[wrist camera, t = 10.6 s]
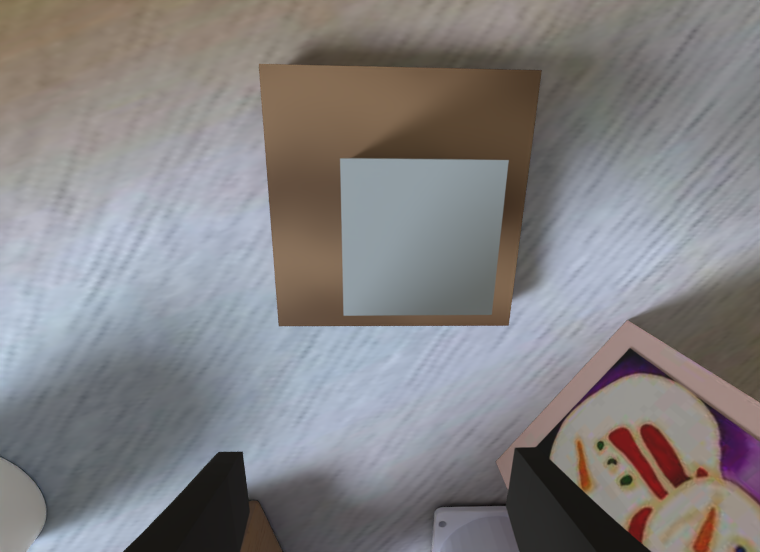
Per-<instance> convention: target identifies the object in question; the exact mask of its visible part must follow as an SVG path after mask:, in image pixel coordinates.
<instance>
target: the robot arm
mask: <svg viewBox="0 0 760 552" xmlns="http://www.w3.org/2000/svg"><path fill="white" fill-rule="evenodd" d="M249 513H250V509H249V500H248V492H247V484H246V476H245V468H244V460H243V452H218V453H217V454H216V455H215V456H214V457H213V458H212V459H211V460H210V462H209V463H208V464H207V465H206V466H205V467H204V468H203V469H202V470H201V471H200V472H199V474H198V475H197V476H196V477H195V478H194V479H193V480H192V481H191V482H190V483H189V484H188V486H187V487H186V488H185V489H184V490H183V491H182V492H181V493H180V494H179V495H178V496H177V497H176V498H175V500H174V501H173V502H172V503H171V504H170V505H169V506H168V507H167V508H166V509H165V510H164V511H163V512H162V513H161V514H160V515H159V516H158V517H157V518H156V519H155V520H154V521H153V522H152V523H151V524H150V525H149V527H148V528H147V529H146V530H145V531H144V532H143V533H142V534H141V535H140V536H139V537H138V538H137V539H136V540H134V541H133V542H132V543H131V544H130V545H129V546H128V547H127V548H126V549H125V550H124V551H123V552H240V550H241V546H242V542H243V538H244V534H245V530H246V526H247V522H248V517H249ZM431 552H651V551H650V550H649V549H648V548H647V547H645V546H644V545H643V544H642V543H641V542H639V541H638V540H637V539H636V538H635V537H634V536H632V535H631V534H630V533H629V532H628V531H627V530H626V529H624V528H623V527H622V526H621V525H620V524H619V523H618V522H616V521H615V520H614V519H613V518H612V517H611V516H610V515H609V514H608V513H606V512H605V511H604V510H603V509H602V508H601V507H600V506H599V505H598V504H597V503H596V502H594V501H593V500H592V499H591V498H590V497H589V496H588V495H587V494H586V493H585V492H584V491H583V490H582V489H581V488H580V487H578V486H577V485H576V484H575V483H574V482H573V481H572V480H571V479H570V478H569V477H568V476H567V475H566V474H565V473H564V472H563V471H562V470H561V469H560V468H559V467H558V466H557V465H556V464H554V463H553V462H552V461H551V460H550V459H549V458H548V457H547V456H546V455H545V454H544V453H543V452H542V451H541V450H540V449H539V448H538V447H516V448H515V449H514V456H513V462H512V469H511V475H510V482H509V489H508V495H507V502H506V506H476V507H441V508H438V509H437V510H436V511H435V513H434V523H433V536H432V549H431Z"/></svg>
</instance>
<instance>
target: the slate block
mask: <svg viewBox="0 0 760 552" xmlns="http://www.w3.org/2000/svg"><path fill="white" fill-rule="evenodd" d="M508 162H509V160H474V159H402V158H340V174H341V220H342V266H343V312H344V316H371V315H492V308H493V299H494V290H495V280H496V271H497V262H498V253H499V244H500V235H501V226H502V217H503V207H504V198H505V189H506V180H507V171H508Z"/></svg>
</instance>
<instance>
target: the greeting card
mask: <svg viewBox="0 0 760 552" xmlns="http://www.w3.org/2000/svg"><path fill="white" fill-rule="evenodd" d="M516 447H538V448H539V449H540V450H541V451H542V452H543V453H544V454H545V455H546V456H547V457H548V458H549V459H550V460H551V461H552V462H553V463H554V464H556V465H557V466H558V467H559V468H560V469H561V470H562V471H563V472H564V473H565V474H566V475H567V476H568V477H569V478H570V479H571V480H572V481H573V482H574V483H575V484H576V485H577V486H578V487H580V488H581V489H582V490H583V491H584V492H585V493H586V494H587V495H588V496H589V497H590V498H591V499H592V500H593V501H594V502H596V503H597V504H598V505H599V506H600V507H601V508H602V509H603V510H604V511H605V512H606V513H608V514H609V515H610V516H611V517H612V518H613V519H614V520H615V521H616V522H618V523H619V524H620V525H621V526H622V527H623V528H624V529H626V530H627V531H628V532H629V533H630V534H631V535H632V536H634V537H635V538H636V539H637V540H638V541H639V542H641V543H642V544H643V545H644V546H645V547H647V548H648V549H649V550H650V551H651V552H760V402H758V401H757V400H755V399H753V398H752V397H750V396H749V395H747V394H745V393H744V392H742V391H741V390H739V389H737V388H736V387H734V386H733V385H731V384H729V383H728V382H726V381H725V380H723V379H721V378H720V377H718V376H717V375H715V374H713V373H712V372H710V371H709V370H707V369H705V368H704V367H702V366H701V365H699V364H697V363H696V362H694V361H693V360H691V359H689V358H688V357H686V356H684V355H683V354H681V353H680V352H678V351H676V350H675V349H673V348H672V347H670V346H668V345H667V344H665V343H664V342H662V341H660V340H659V339H657V338H656V337H654V336H652V335H651V334H649V333H648V332H646V331H644V330H643V329H641V328H640V327H638V326H636V325H635V324H633V323H632V322H630V321H628V320H627V321H626V322H625V323H624V324H623V325H622V326H621V327H620V328H619V329H618V331H617V332H616V333H615V334H614V335H613V336H612V337H611V338H610V339H609V340H608V341H607V342H606V343H605V345H604V346H603V347H602V348H601V349H600V350H599V351H598V352H597V353H596V354H595V355H594V356H593V357H592V359H591V360H590V361H589V362H588V363H587V364H586V365H585V366H584V367H583V368H582V369H581V370H580V371H579V373H578V374H577V375H576V376H575V377H574V378H573V379H572V380H571V381H570V382H569V383H568V384H567V385H566V387H565V388H564V389H563V390H562V391H561V392H560V393H559V394H558V395H557V396H556V397H555V398H554V399H553V401H552V402H551V403H550V404H549V405H548V406H547V407H546V408H545V409H544V410H543V411H542V412H541V413H540V415H539V416H538V417H537V418H536V419H535V420H534V421H533V422H532V423H531V424H530V425H529V426H528V427H527V429H526V430H525V431H524V432H523V433H522V434H521V435H520V436H519V437H518V438H517V439H516V440H515V441H514V443H513V444H512V445H511V446H510V447H509V448H508V449H507V450H506V451H505V452H504V453H503V454H502V455H501V457H500V458H499V459H498V460H497V461H496V463H497V466H498V468H499V470H500V473H501V475H502V477H503V480H504V482H505V484H506V487H507V489H509V482H510V475H511V469H512V462H513V456H514V449H515V448H516Z"/></svg>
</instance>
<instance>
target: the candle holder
mask: <svg viewBox="0 0 760 552" xmlns="http://www.w3.org/2000/svg"><path fill="white" fill-rule="evenodd" d="M46 513H47V511H46V504H45V500H44V497H43V495H42V493H41V491H40V489H39V488H38V486H37V485H36V484H35V482H34V481H33V480H32V479H31V478H30V477H29V476H28V475H27V474H26V473H25V472H24V471H22V470H21V469H20V468H19V467H17V466H16V465H14V464H13V463H11V462H9V461H7V460H5V459H3V458H1V457H0V552H27V550H28V549H29V548H30V546H31V545H32V544H33V542H34V541H35V540H36V538H37V537H38V535H39V534H40V532H41V531H42V529H43V527H44V524H45V521H46Z"/></svg>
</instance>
